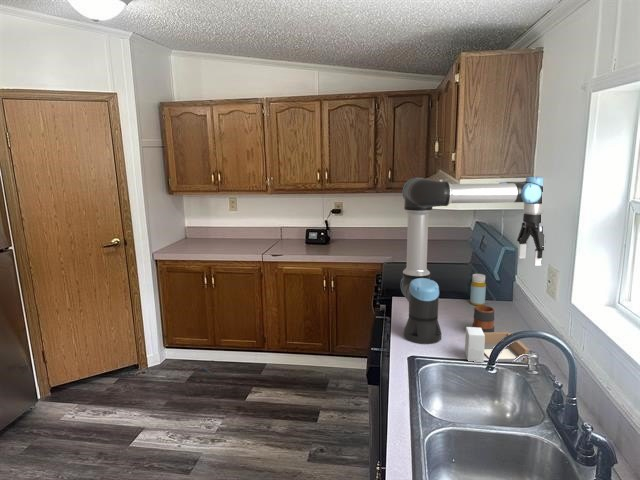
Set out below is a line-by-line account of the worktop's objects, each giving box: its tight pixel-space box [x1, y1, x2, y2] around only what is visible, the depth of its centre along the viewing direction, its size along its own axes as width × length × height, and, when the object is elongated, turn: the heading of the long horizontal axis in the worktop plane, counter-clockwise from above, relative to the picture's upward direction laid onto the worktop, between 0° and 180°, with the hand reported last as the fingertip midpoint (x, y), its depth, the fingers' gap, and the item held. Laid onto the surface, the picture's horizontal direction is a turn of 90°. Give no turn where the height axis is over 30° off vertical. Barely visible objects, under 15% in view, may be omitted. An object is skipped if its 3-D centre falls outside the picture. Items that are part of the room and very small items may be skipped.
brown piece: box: [483, 331, 530, 364], centre depth 160 cm, size 13×16×5 cm
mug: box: [471, 305, 495, 332], centre depth 178 cm, size 9×12×12 cm
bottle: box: [469, 273, 487, 306], centre depth 215 cm, size 7×7×15 cm
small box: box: [464, 326, 485, 364], centre depth 156 cm, size 8×6×10 cm
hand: (529, 261), depth 185 cm, fingers open, 13 cm apart
